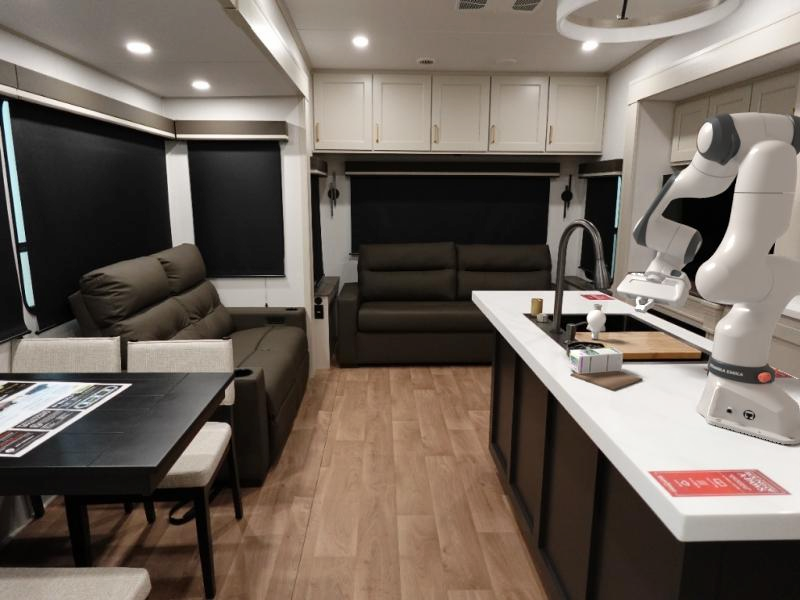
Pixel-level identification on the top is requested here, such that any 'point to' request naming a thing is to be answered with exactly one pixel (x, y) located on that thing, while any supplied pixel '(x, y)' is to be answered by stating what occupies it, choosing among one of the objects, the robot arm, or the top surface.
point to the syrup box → (595, 360)
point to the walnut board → (609, 379)
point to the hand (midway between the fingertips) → (639, 311)
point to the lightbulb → (596, 322)
